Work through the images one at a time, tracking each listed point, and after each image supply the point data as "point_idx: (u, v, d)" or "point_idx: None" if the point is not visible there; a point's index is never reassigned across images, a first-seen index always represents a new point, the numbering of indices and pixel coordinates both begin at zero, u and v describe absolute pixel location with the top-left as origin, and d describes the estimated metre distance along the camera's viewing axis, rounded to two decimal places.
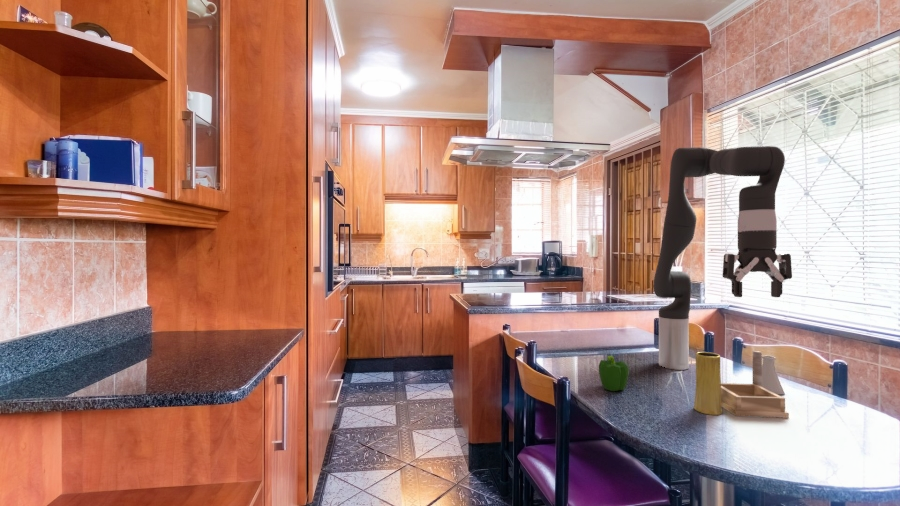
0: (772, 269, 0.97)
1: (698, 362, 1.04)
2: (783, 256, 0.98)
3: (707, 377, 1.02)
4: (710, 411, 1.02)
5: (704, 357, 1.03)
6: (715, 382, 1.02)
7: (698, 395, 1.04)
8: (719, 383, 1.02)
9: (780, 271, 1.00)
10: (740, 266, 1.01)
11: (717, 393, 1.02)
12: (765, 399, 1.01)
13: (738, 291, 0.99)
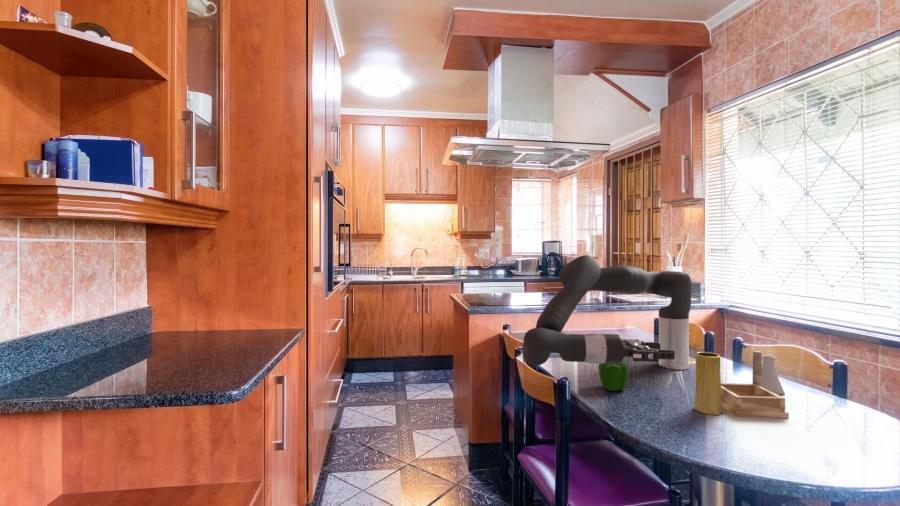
0: None
1: (698, 362, 1.04)
2: None
3: (707, 377, 1.02)
4: (710, 411, 1.02)
5: (704, 357, 1.03)
6: (715, 382, 1.02)
7: (698, 395, 1.04)
8: (719, 383, 1.02)
9: None
10: None
11: (717, 393, 1.02)
12: (765, 399, 1.01)
13: None
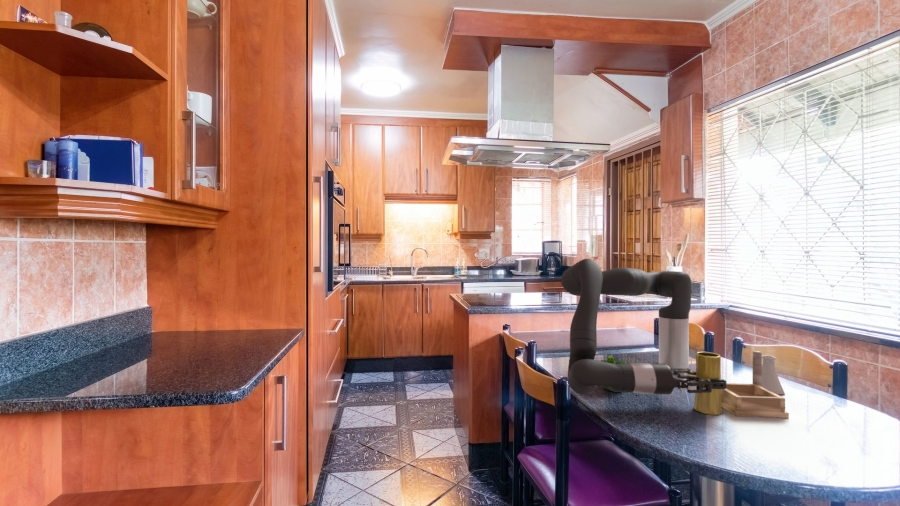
0: None
1: (698, 362, 1.04)
2: None
3: (707, 377, 1.02)
4: (710, 411, 1.02)
5: (704, 357, 1.03)
6: None
7: (698, 395, 1.04)
8: None
9: None
10: None
11: (717, 393, 1.02)
12: (765, 399, 1.01)
13: None
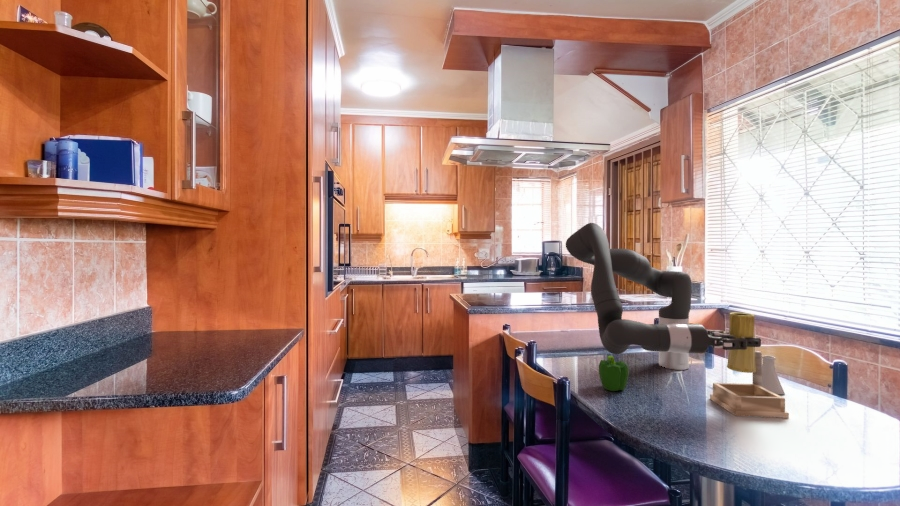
0: None
1: (732, 321, 1.06)
2: None
3: (741, 336, 1.04)
4: (744, 369, 1.03)
5: (739, 316, 1.04)
6: None
7: (732, 354, 1.06)
8: None
9: None
10: None
11: (751, 351, 1.03)
12: (765, 399, 1.01)
13: None
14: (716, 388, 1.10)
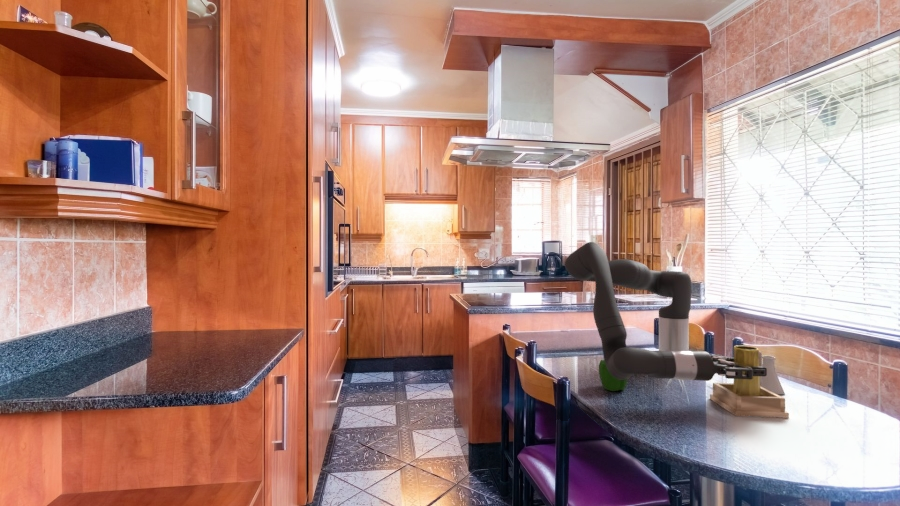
0: None
1: (737, 355, 1.06)
2: None
3: None
4: None
5: (743, 350, 1.04)
6: None
7: (737, 388, 1.06)
8: (758, 376, 1.04)
9: None
10: None
11: (756, 385, 1.04)
12: (765, 399, 1.01)
13: None
14: (716, 388, 1.10)
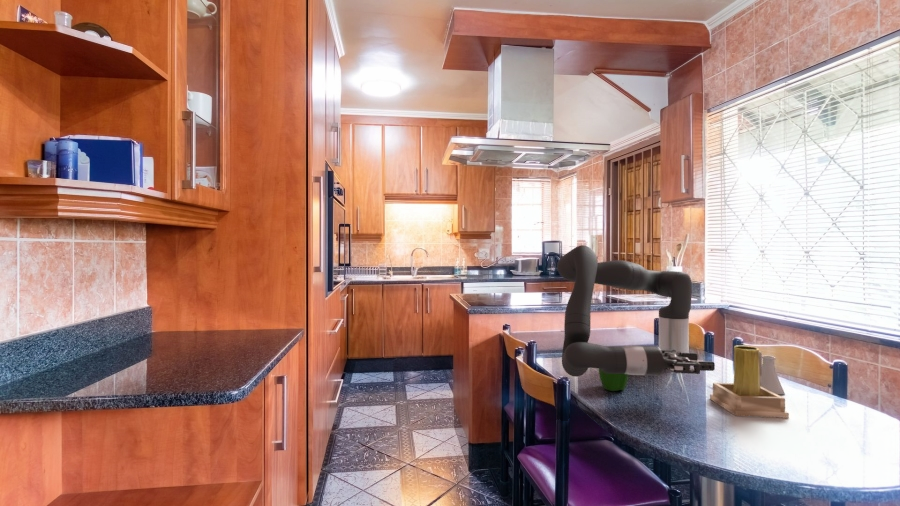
0: None
1: (737, 355, 1.06)
2: None
3: (746, 370, 1.04)
4: None
5: (743, 350, 1.04)
6: (754, 375, 1.04)
7: (737, 388, 1.06)
8: (758, 376, 1.04)
9: None
10: None
11: (756, 385, 1.04)
12: (765, 399, 1.01)
13: None
14: (716, 388, 1.10)
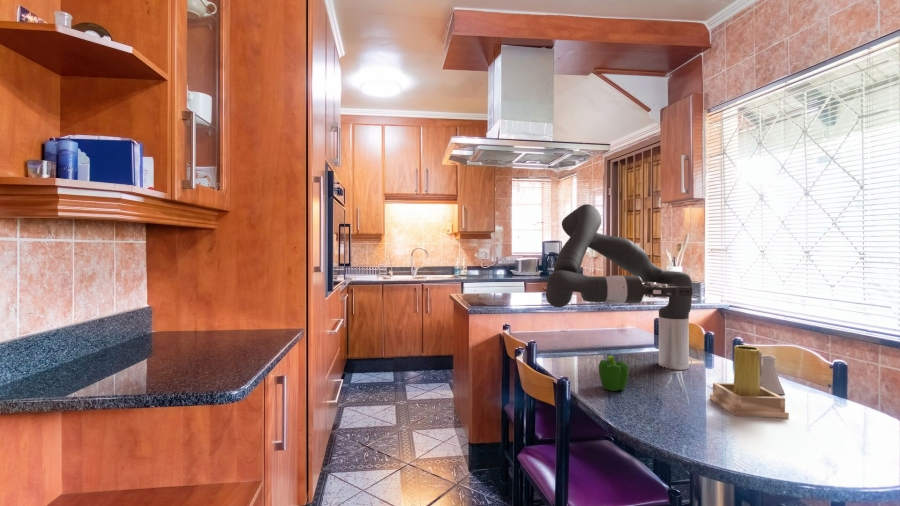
0: None
1: (737, 355, 1.06)
2: None
3: (746, 370, 1.04)
4: None
5: (743, 350, 1.04)
6: (754, 375, 1.04)
7: (737, 388, 1.06)
8: (758, 376, 1.04)
9: None
10: None
11: (756, 386, 1.04)
12: (765, 399, 1.01)
13: None
14: (716, 388, 1.10)
